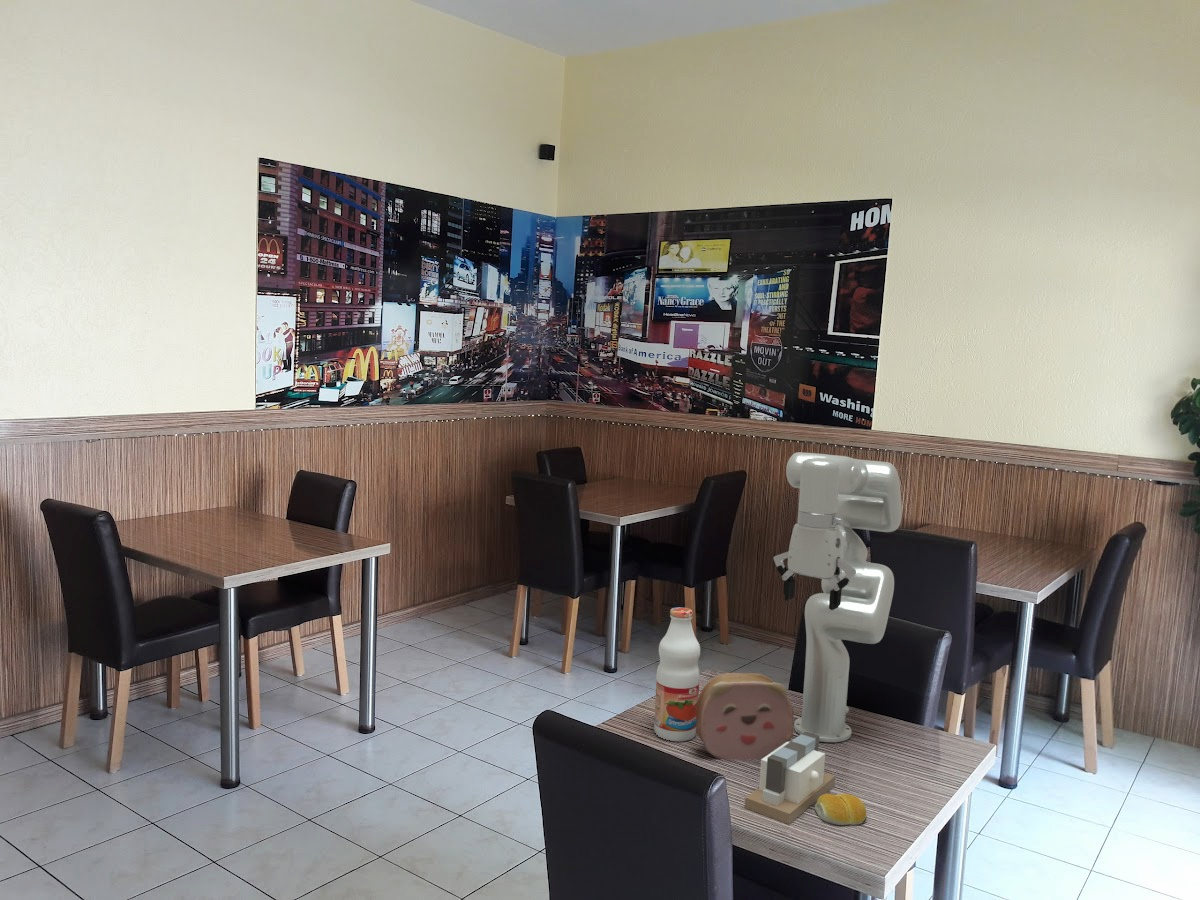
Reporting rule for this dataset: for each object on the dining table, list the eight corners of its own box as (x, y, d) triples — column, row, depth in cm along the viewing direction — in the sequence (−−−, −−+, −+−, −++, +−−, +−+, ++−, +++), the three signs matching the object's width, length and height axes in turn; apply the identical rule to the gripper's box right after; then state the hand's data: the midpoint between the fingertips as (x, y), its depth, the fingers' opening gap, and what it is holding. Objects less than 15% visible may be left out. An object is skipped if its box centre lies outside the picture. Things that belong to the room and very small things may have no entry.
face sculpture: (698, 761, 191) (702, 683, 190) (691, 747, 198) (695, 671, 196) (792, 760, 194) (797, 683, 192) (782, 746, 200) (787, 671, 199)
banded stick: (803, 760, 184) (805, 731, 184) (817, 765, 183) (819, 735, 182) (765, 788, 172) (767, 757, 171) (780, 793, 170) (782, 762, 169)
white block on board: (792, 771, 188) (795, 734, 187) (838, 787, 182) (841, 748, 182) (744, 807, 172) (747, 766, 172) (792, 825, 167) (795, 783, 166)
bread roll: (873, 826, 168) (875, 805, 168) (826, 828, 167) (828, 807, 166) (853, 804, 176) (855, 783, 176) (808, 805, 175) (810, 785, 174)
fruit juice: (677, 722, 211) (684, 602, 208) (705, 737, 204) (712, 612, 201) (645, 730, 206) (651, 607, 203) (671, 746, 198) (678, 618, 195)
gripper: (865, 524, 183) (859, 608, 185) (785, 512, 194) (780, 592, 196) (850, 529, 177) (844, 616, 179) (769, 516, 188) (763, 598, 190)
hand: (811, 603), depth 187 cm, fingers open, 9 cm apart
